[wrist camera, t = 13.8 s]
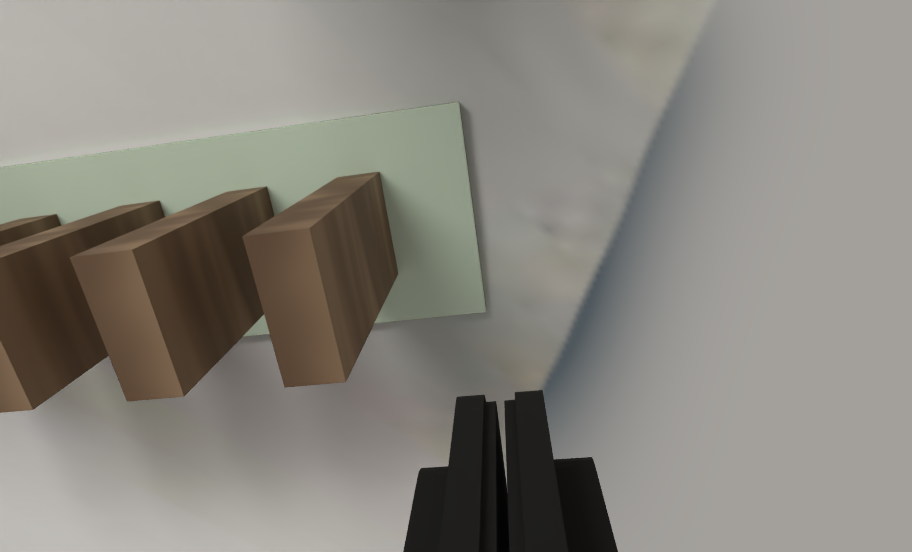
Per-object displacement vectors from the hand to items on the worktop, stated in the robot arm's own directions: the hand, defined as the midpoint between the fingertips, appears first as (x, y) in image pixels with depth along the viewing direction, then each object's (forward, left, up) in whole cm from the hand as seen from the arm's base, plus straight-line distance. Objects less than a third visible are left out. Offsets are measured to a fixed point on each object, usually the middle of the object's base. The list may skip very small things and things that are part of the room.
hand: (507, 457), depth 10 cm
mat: (+18, -10, -21) cm, 29 cm away
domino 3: (+6, -4, -21) cm, 22 cm away
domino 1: (+18, -10, -21) cm, 29 cm away
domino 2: (+12, -7, -21) cm, 25 cm away
